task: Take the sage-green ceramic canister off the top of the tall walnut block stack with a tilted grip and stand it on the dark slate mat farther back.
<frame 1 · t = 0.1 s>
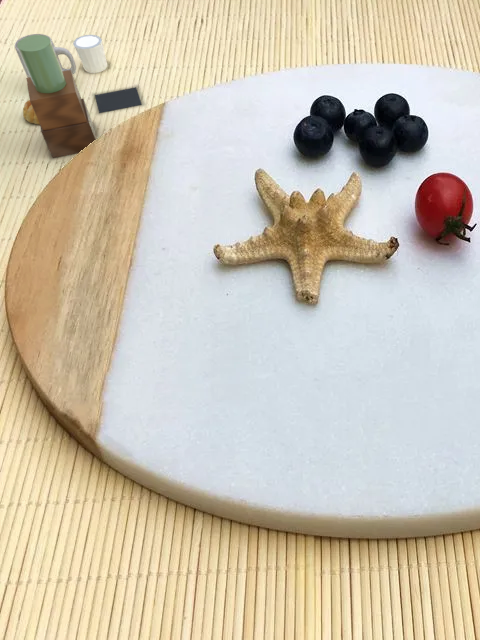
green canister: (50, 84, 142), point 14 cm above the table, touching walnut block
walnut block: (74, 142, 153), on the table
pastry: (46, 118, 159), on the table
mug: (58, 86, 167), on the table
slate mat: (118, 101, 163), on the table
white cup: (96, 69, 172), on the table
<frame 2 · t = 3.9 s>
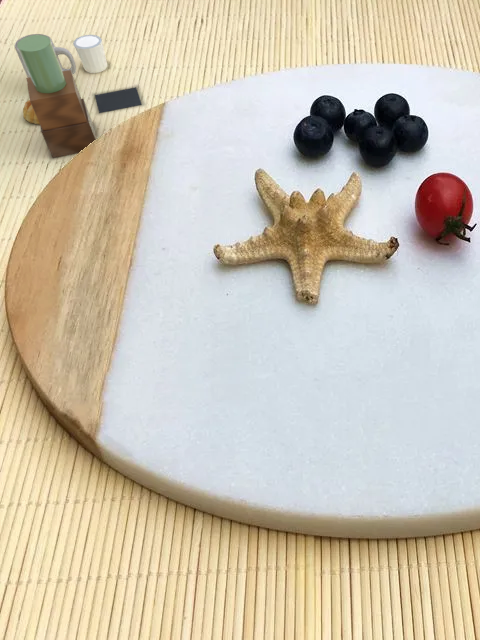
nothing on the table moved.
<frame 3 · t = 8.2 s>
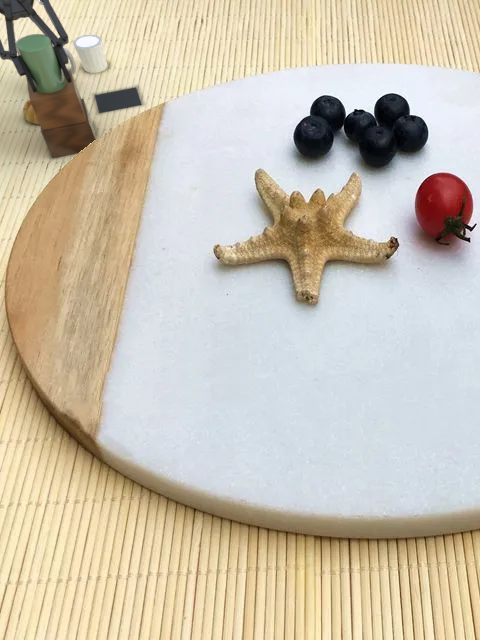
hand: (52, 84, 139), 16 cm above the table, tool tilted 45°, fingers closed on green canister, 6 cm apart
green canister: (50, 84, 142), point 14 cm above the table, touching gripper, walnut block
everything else where it was.
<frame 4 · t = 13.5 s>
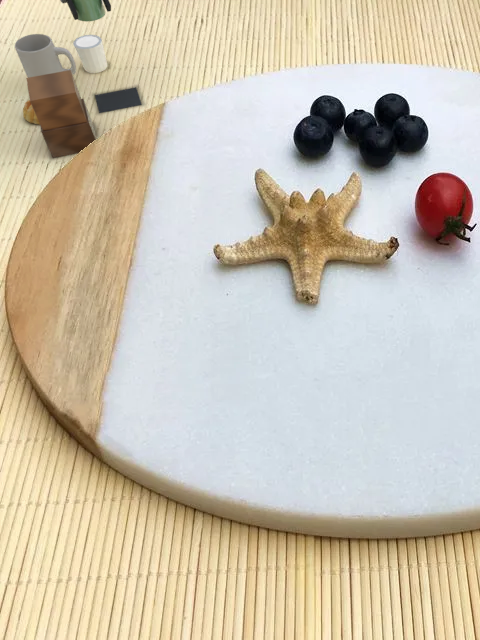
hand: (92, 12, 143), 23 cm above the table, tool tilted 45°, fingers closed on green canister, 6 cm apart
green canister: (90, 14, 146), point 21 cm above the table, touching gripper
everything else where it was.
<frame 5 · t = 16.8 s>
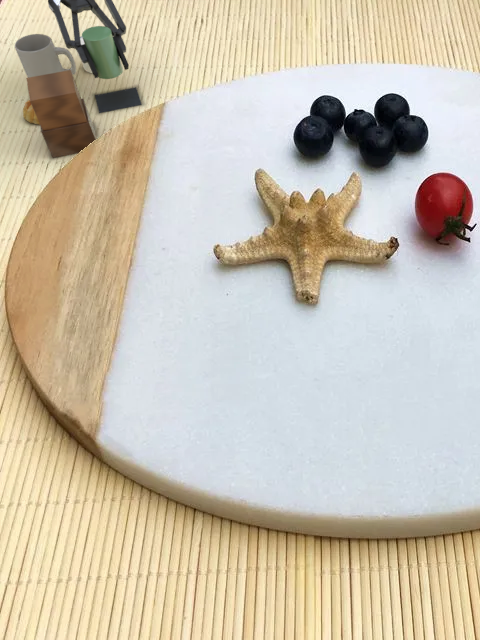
hand: (111, 71, 154), 9 cm above the table, tool tilted 45°, fingers closed on green canister, 6 cm apart
green canister: (109, 71, 157), point 8 cm above the table, touching gripper
everything else where it was.
when the fingers open (2 cm above the table, at t = 19.1 s): green canister stays where it is, resting on slate mat.
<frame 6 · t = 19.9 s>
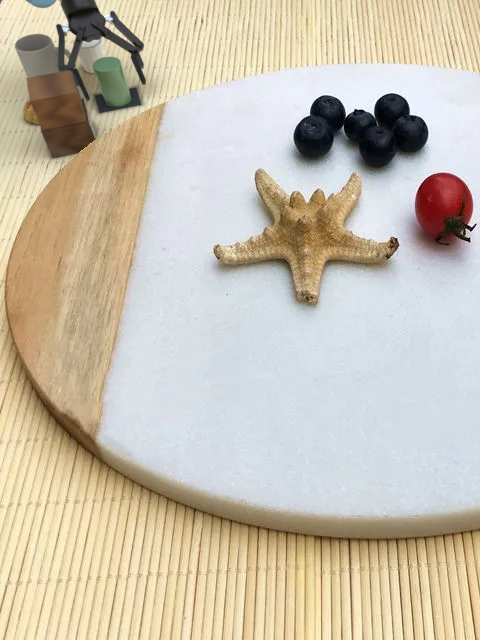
hand: (116, 90, 159), 4 cm above the table, tool tilted 45°, fingers open, 13 cm apart
green canister: (118, 99, 163), resting on slate mat
everything else where it was.
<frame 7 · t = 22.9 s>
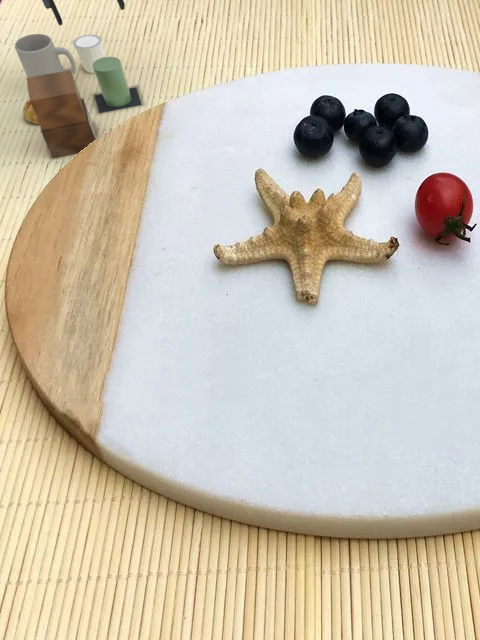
hand: (92, 14, 144), 22 cm above the table, tool tilted 45°, fingers open, 13 cm apart
nothing on the table moved.
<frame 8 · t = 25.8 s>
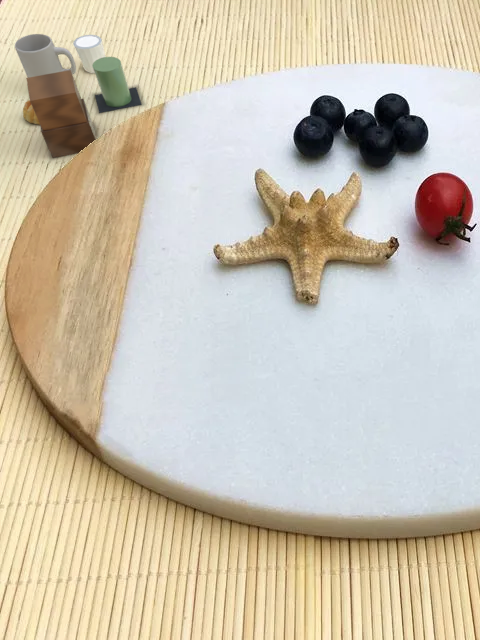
nothing on the table moved.
at the end: green canister inside the target area on the slate mat (0.0 cm from its centre), point 0.5 cm above the slate mat's base; green canister tilted 0°; green canister touching slate mat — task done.
